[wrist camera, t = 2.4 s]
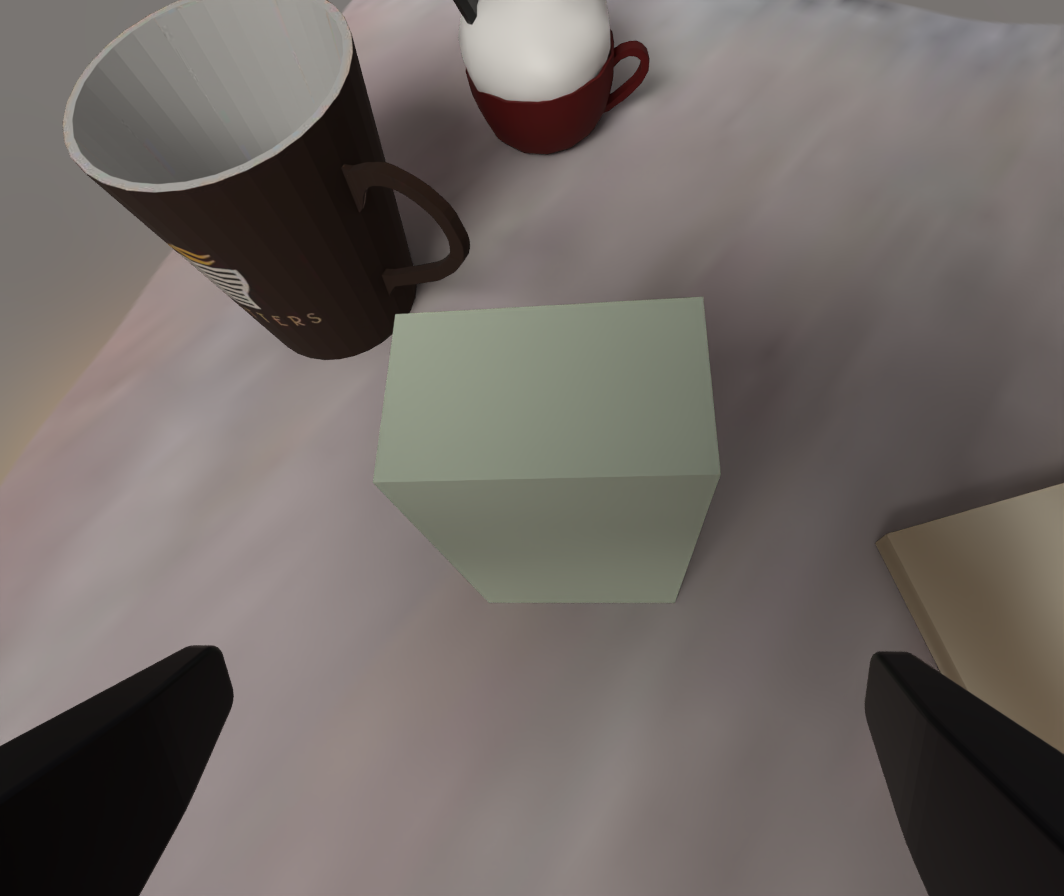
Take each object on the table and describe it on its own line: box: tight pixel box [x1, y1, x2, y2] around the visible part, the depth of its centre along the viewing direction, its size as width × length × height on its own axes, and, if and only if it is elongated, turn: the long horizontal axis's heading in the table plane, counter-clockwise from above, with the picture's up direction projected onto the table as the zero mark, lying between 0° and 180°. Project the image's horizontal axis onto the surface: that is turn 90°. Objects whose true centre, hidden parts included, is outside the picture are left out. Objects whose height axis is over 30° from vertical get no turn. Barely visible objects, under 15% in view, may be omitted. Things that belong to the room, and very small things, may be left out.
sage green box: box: [373, 297, 721, 603], centre depth 17 cm, size 4×6×11 cm, turn 89°
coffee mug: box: [63, 0, 470, 360], centre depth 23 cm, size 12×9×10 cm
